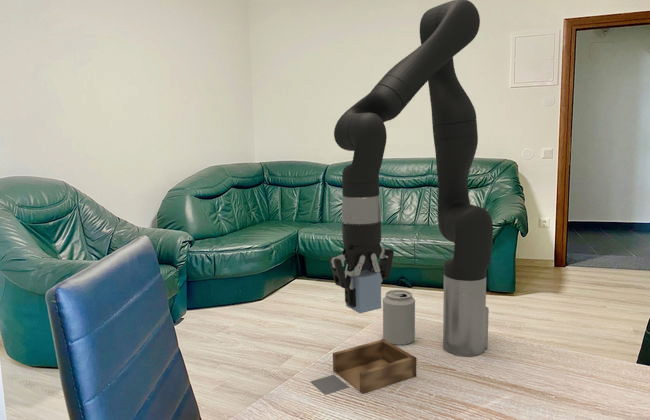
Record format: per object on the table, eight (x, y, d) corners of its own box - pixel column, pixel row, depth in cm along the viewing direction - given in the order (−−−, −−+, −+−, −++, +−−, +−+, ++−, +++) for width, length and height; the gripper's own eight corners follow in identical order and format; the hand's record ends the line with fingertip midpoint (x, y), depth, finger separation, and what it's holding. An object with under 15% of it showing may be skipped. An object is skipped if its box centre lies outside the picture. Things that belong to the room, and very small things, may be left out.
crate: (383, 358, 111) (383, 339, 110) (416, 378, 101) (416, 357, 101) (333, 373, 104) (332, 353, 104) (362, 396, 95) (362, 374, 94)
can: (414, 348, 115) (414, 298, 113) (381, 346, 117) (381, 297, 115) (415, 335, 122) (415, 288, 121) (384, 334, 124) (384, 287, 122)
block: (366, 301, 103) (366, 268, 102) (381, 308, 98) (380, 273, 97) (346, 306, 100) (345, 272, 99) (360, 313, 96) (359, 278, 95)
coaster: (333, 377, 103) (333, 374, 103) (349, 389, 98) (349, 386, 97) (310, 384, 100) (310, 381, 100) (325, 397, 95) (325, 394, 95)
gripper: (380, 212, 103) (381, 292, 106) (319, 220, 96) (322, 305, 99) (403, 217, 97) (403, 301, 99) (339, 226, 90) (342, 317, 92)
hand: (363, 303), depth 99 cm, fingers closed on block, 5 cm apart
